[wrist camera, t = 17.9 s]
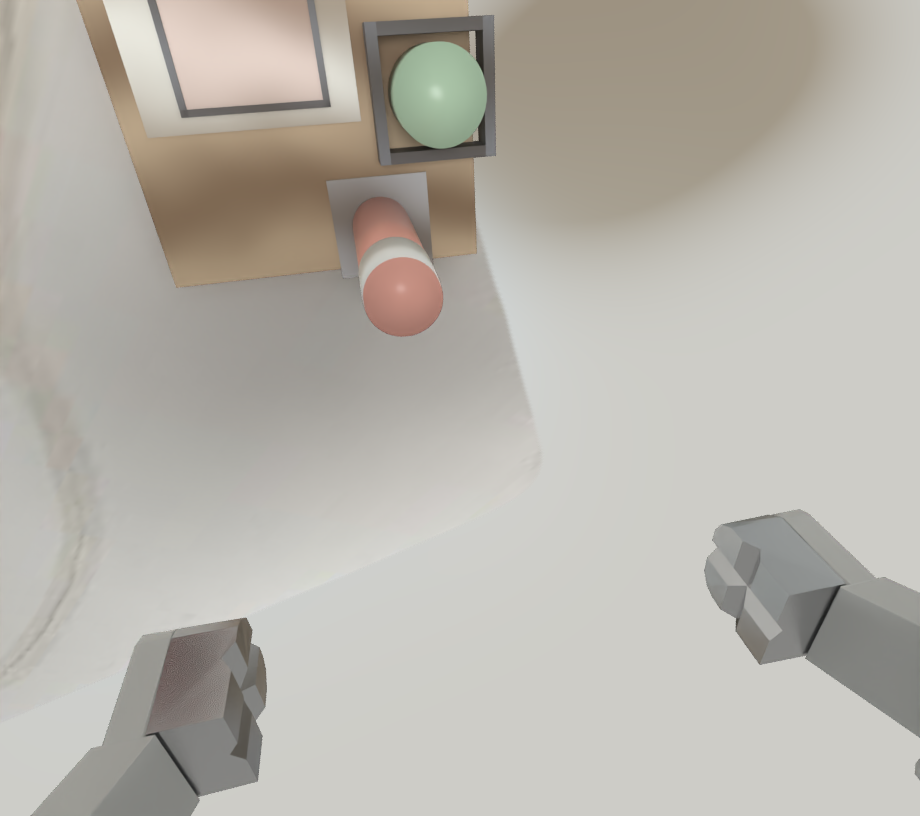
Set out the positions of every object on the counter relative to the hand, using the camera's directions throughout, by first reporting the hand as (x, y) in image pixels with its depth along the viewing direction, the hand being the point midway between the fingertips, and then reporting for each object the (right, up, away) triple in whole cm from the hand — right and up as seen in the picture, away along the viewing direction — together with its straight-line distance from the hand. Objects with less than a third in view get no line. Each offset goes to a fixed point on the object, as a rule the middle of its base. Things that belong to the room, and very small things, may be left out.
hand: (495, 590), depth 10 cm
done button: (-2, +18, +17) cm, 25 cm away
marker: (-5, +13, +20) cm, 24 cm away
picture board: (-8, +20, +16) cm, 27 cm away
